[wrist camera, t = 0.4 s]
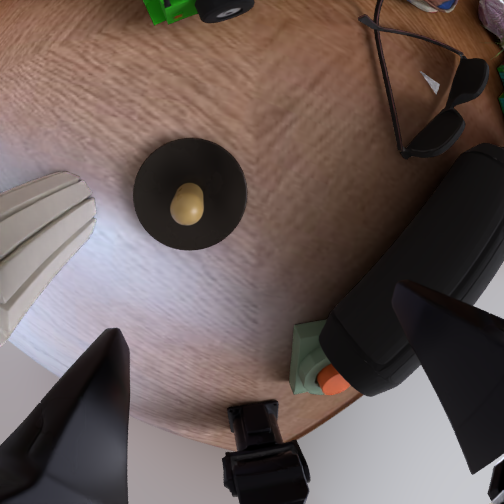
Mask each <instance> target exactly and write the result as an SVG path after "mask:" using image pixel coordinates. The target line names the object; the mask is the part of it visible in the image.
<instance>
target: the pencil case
mask: <svg viewBox="0 0 504 504" xmlns="http://www.w3.org/2000/svg"><path fill="white" fill-rule="evenodd" d="M407 1H409V2H410V3H412V4H413V5H415V6H416V7H418V8H419V9H421V10H423V11H426V12H430V13H435V12H438V11H441V12H444V13H449V12H451V11H452V10H453V9H454V8H455V6H456V4H457V2H458V0H407Z"/></svg>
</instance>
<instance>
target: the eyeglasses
mask: <svg viewBox="0 0 504 504" xmlns="http://www.w3.org/2000/svg"><path fill="white" fill-rule="evenodd" d="M382 3H383V0H377V4H376V7H375V13H374V21H373V20H371V19H370V18H369V17H368V16H367V15H366V14H364V15H362V16H359V17H358V20H359V21H360V22H362V23H364V24H365V25H367V26H369V27H370V28H372V29H374V33H375V40H376V45H377V51H378V56H379V60H380V65H381V69H382V74H383V79H384V83H385V88H386V93H387V97H388V103H389V107H390V112H391V117H392V122H393V127H394V132H395V137H396V143H397V149H398V150H399V151H401V152H400V154H401V155H402V156H403V158H404V159H408V158H410V157H411V156H413V157H421V158H428V157H434V156H438V155H440V154H442V153H444V152H445V151H446V150H448V149H449V148H450V147H451V146H452V145H453V144H454V143H455V142H456V141H457V140H458V138H459V137H460V136H461V134H462V132H463V130H464V128H465V121H464V119H463V118H462V116H461V115H460V114H459V112H458V111H457V110H455V109H454V107H455V106H456V105H459V104H462V103H465V102H468V101H471V100H473V99H475V98H477V97H478V96H479V95H480V94H481V93H482V92H483V90H484V89H485V86H486V84H487V81H488V77H489V66H488V64H487V63H486V61H485V60H483V59H479V58H473V59H467V58H466V57H465V56H462V55H464V54H463V53H462V52H460V51H458V50H456V49H454V48H452V47H450V46H448V45H446V44H444V43H441V42H439V41H436V40H434V39H431V38H428V37H425V36H422V35H418V34H415V33H411V32H407V31H402V30H397V29H391V28H385V27H381V26H379V14H380V10H381V6H382ZM379 31H383V32H391V33H397V34H402V35H407V36H411V37H415V38H418V39H422V40H425V41H428V42H431V43H433V44H436V45H439V46H441V47H443V48H446V49H448V50H450V51H452V52H454V53H456V54H458V55H459V56H460V57H461V59H460V64H459V66H458V68H457V71H456V74H455V77H454V80H453V83H452V86H451V90H450V93H449V97H448V101H447V104H446V107H445V108H444V109H443V110H442V111H441V112H440V113H439V114H438V115H437V116H436V117H435V118H434V119H433V120H432V121H431V122H430V123H429V124H428V125H427V126H426V127H425V128H424V129H423V130H422V131H421V132H420V133H419V134H418V135H417V136H416V137H415V138H414V140H413V141H412V142H411V143H410V144H409V145H408V147H407V148H404V147H403V145H402V139H401V134H400V128H399V123H398V118H397V113H396V108H395V104H394V99H393V94H392V89H391V85H390V81H389V77H388V72H387V68H386V63H385V59H384V55H383V50H382V45H381V40H380V32H379Z"/></svg>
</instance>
